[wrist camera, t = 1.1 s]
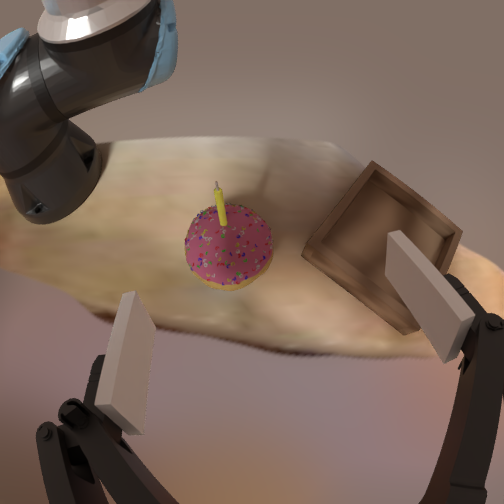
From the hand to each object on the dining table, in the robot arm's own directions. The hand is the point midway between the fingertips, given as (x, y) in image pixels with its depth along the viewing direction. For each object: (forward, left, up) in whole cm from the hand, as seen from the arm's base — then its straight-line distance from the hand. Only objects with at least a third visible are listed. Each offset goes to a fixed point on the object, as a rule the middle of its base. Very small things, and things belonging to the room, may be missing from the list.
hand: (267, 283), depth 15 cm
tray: (+6, +17, -17) cm, 25 cm away
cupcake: (-7, +4, -17) cm, 19 cm away
